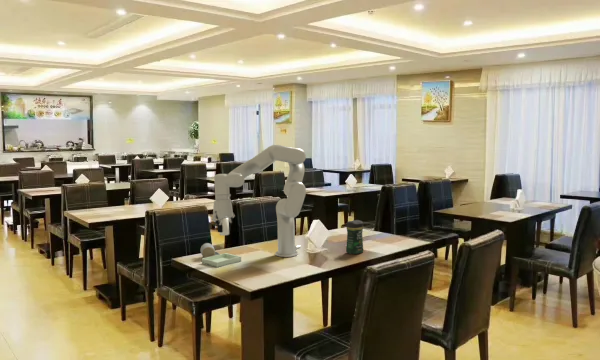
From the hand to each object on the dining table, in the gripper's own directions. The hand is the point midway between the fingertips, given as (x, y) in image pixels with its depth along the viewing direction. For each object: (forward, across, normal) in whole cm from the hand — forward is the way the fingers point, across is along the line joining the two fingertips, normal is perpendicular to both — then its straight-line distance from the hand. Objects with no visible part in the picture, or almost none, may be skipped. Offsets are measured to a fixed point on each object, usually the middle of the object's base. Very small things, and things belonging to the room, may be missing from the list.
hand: (224, 230), depth 258 cm
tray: (+17, +2, 0) cm, 17 cm away
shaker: (+2, 0, 0) cm, 2 cm away
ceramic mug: (+17, 0, -13) cm, 22 cm away
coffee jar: (+19, -59, +42) cm, 75 cm away
